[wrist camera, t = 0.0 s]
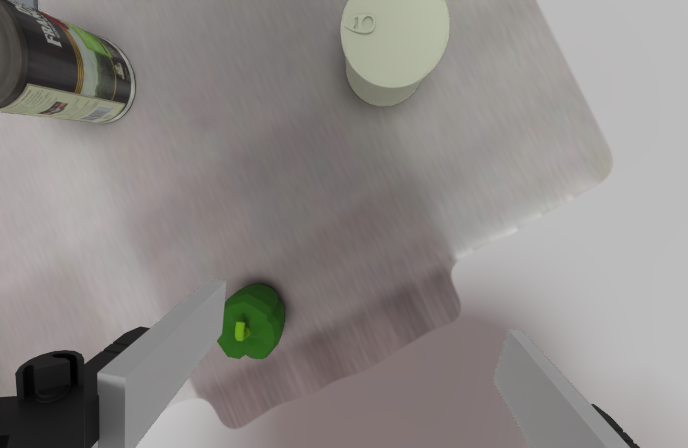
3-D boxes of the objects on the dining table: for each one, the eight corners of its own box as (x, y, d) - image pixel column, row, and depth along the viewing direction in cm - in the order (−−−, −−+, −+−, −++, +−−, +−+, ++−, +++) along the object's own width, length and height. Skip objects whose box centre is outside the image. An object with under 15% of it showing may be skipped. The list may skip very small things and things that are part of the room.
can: (351, 17, 37) (346, -44, 26) (431, 27, 37) (463, -31, 26) (341, 101, 39) (332, 80, 28) (417, 111, 39) (440, 93, 28)
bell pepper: (274, 340, 47) (252, 390, 37) (224, 312, 46) (188, 355, 37) (303, 295, 45) (287, 335, 35) (252, 265, 45) (221, 297, 35)
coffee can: (78, 16, 39) (-76, -59, 25) (151, 73, 40) (40, 31, 26) (41, 88, 41) (-121, 56, 27) (110, 141, 42) (-12, 135, 28)
